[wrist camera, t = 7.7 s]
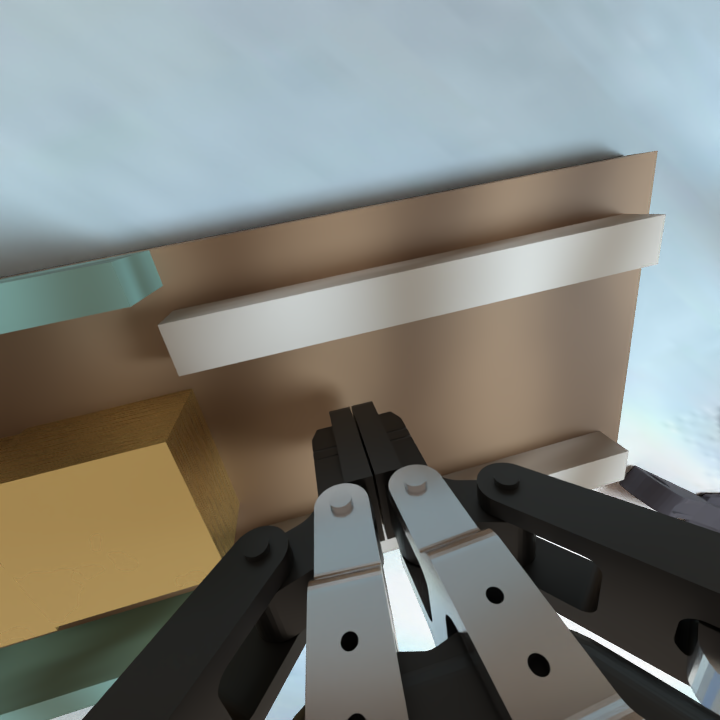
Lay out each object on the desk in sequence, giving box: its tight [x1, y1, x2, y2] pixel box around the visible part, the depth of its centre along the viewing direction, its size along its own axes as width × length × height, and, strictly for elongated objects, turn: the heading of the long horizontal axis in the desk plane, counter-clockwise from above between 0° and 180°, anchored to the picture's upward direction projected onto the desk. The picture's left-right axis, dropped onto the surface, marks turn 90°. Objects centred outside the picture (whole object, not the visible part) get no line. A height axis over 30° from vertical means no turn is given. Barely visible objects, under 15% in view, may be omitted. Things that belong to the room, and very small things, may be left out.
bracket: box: [620, 466, 720, 533], centre depth 21 cm, size 14×15×3 cm
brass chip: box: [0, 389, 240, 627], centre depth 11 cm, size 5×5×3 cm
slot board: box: [0, 151, 666, 720], centre depth 12 cm, size 30×14×4 cm, turn 100°
